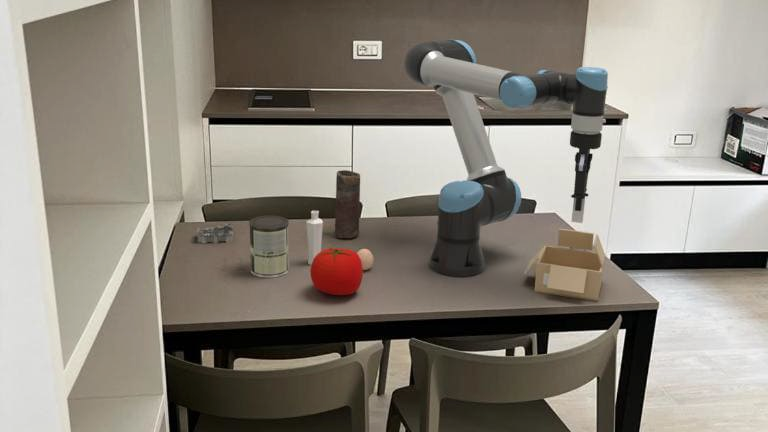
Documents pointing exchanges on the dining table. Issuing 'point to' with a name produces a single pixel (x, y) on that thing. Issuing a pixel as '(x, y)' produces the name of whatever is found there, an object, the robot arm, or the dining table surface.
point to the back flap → (575, 239)
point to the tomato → (337, 271)
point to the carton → (573, 260)
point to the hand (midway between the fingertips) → (577, 221)
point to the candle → (347, 204)
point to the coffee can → (269, 246)
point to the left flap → (533, 261)
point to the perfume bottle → (314, 235)
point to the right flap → (599, 249)
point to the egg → (366, 258)
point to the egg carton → (216, 234)
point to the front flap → (567, 278)
